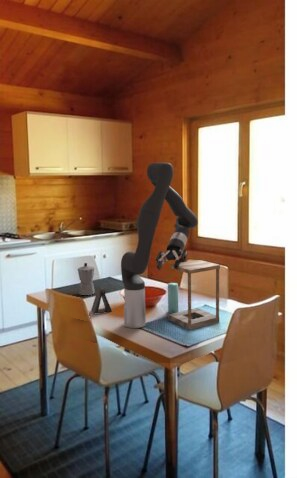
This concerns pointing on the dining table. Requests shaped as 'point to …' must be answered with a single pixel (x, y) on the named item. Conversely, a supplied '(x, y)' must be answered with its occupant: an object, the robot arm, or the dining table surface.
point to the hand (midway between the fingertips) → (166, 268)
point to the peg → (173, 298)
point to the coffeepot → (86, 280)
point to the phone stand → (97, 302)
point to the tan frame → (185, 316)
